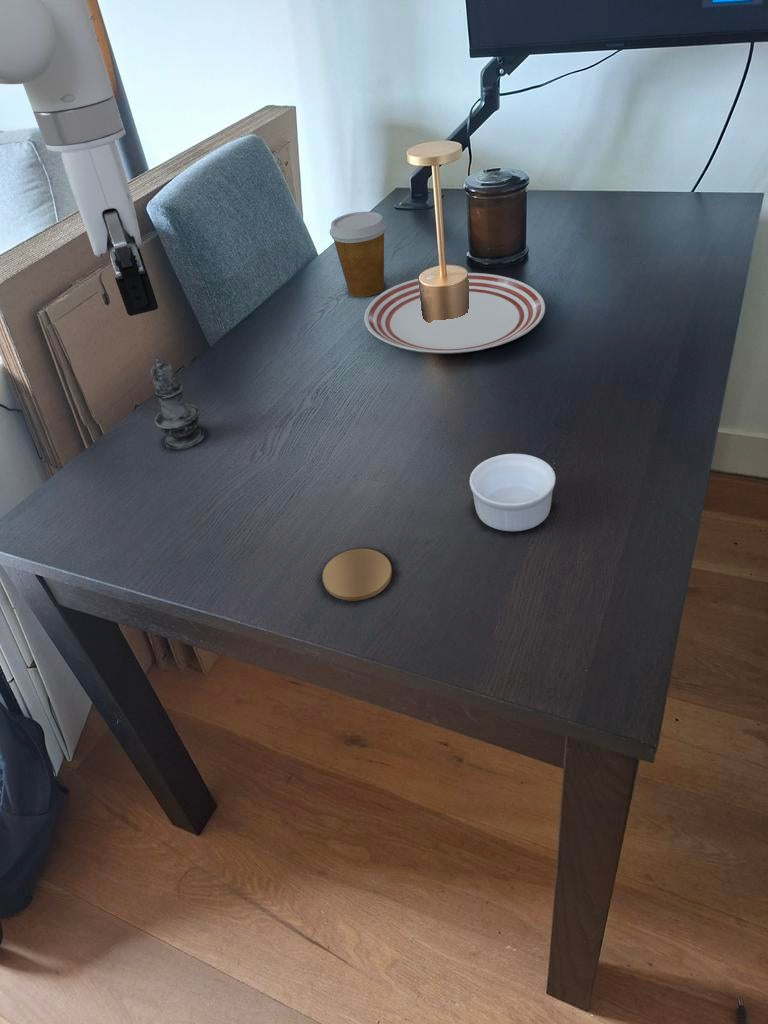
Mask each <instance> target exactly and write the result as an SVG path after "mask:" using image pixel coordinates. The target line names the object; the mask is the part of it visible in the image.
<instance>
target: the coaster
mask: <svg viewBox="0 0 768 1024" xmlns="http://www.w3.org/2000/svg"><path fill="white" fill-rule="evenodd" d="M392 575H393V569H392V565H391V562H390V560H389V559H388V557H387V556H386V555H384V554H383V553H381V552H380V551H377V550H374V549H371V548H354V549H349V550H346V551H343V552H341V553H339V554H337V555H336V556H334V557H332V558H331V559H330V560H329V561H328V562H327V564H326V565H325V566H324V568H323V571H322V583H323V586H324V588H325V590H326V591H327V592H328V593H329V594H330V595H331V596H333V597H334V598H336V599H339V600H343V601H348V602H357V601H363V600H368V599H370V598H372V597H375V596H377V595H378V594H380V593H381V592H382V591H384V590H385V589H386V588H387V586H388V585H389V584H390V582H391V580H392Z"/></svg>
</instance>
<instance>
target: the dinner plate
mask: <svg viewBox="0 0 768 1024" xmlns="http://www.w3.org/2000/svg"><path fill="white" fill-rule="evenodd" d="M467 273H468V280H469V309H468V313H466V314H465V315H463V316H461V317H458V318H454V319H446V320H433V321H432V322H431V323H428V322H426V321H425V320H424V319H423V316H422V311H421V301H420V291H419V284H418V278H415V279H411V280H408V281H405V282H402V283H399V284H396V285H394V286H392V287H390V288H389V289H386V290H385V291H383V292H380V293H379V295H377V296H376V297H375V298H373V299H372V301H371V302H370V303H369V304H368V306H367V308H366V309H365V312H364V317H363V318H364V325H365V327H366V328H367V330H368V331H369V332H370V334H371V335H373V336H374V337H375V338H377V339H379V340H380V341H382V342H384V343H386V344H388V345H390V346H392V347H395V348H398V349H402V350H406V351H411V352H415V353H422V354H432V355H454V354H464V353H465V354H466V353H471V352H477V351H483V350H486V349H489V348H495V347H499V346H501V345H504V344H508V343H511V342H512V341H514V340H517V339H519V338H521V337H522V336H525V335H527V334H528V333H529V332H531V331H532V330H533V329H535V328H536V327H537V326H538V325H539V324H540V322H541V321H542V320H543V317H545V316H544V315H545V313H546V304H545V300H544V298H543V297H542V295H541V294H540V293H539V292H538V290H536V289H534V288H533V287H532V286H530V285H528V284H527V283H524V282H522V281H520V280H517V279H515V278H511V277H507V276H503V275H498V274H491V273H481V272H467Z"/></svg>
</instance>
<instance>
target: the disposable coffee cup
mask: <svg viewBox="0 0 768 1024" xmlns="http://www.w3.org/2000/svg"><path fill="white" fill-rule="evenodd" d="M386 228H387V223H386V221H385V220H384V217H383V215H382V214H381V213H379V212H375V211H356V212H355V211H354V212H350V213H346V214H343V215H340V216H338V217H336V218H335V219H333V220H332V221H331V223H330V229H329V235H330V237H331V238H332V240H333V242H334V246H335V249H336V253H337V256H338V259H339V263H340V267H341V271H342V273H343V274H342V275H343V276H344V281H345V283H346V288H347V291H348V294H349V295H350V296H353V297H357V298H365V297H371V296H375V295H377V294H380V293H382V291H384V289H385V232H386Z"/></svg>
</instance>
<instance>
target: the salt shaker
mask: <svg viewBox="0 0 768 1024" xmlns="http://www.w3.org/2000/svg"><path fill="white" fill-rule="evenodd" d="M155 362H156V364H154V365H153V366H152V367H151V368H150V377H151V379H152V383H153V386H154V387H155V391H154V392H153V393H154V396H155V397H156V398H158V401H159V403H160V406H161V411H160V412H159V413H157V415H156V416H155V419H154V423H155V424H154V425H156V426H157V428H159V430H160V431H161V432H162V433H163V434H164V435H166V437H165V440H164V444H165V446H166V447H167V448H168V449H170V450H174V451H175V450H176V451H177V450H178V451H179V450H186V449H189V448H192V447H195V446H196V445H198V444H199V443H200V442H201V441H203V440H204V437H205V432H204V430H203V429H202V428H201V427H198V426H199V423H200V421H199V420H200V417H199V416H200V413H201V412H200V409H199V408H198V406H197V405H194V404H193V403H192V404H191V403H187V402H186V400H185V399H184V398H185V397H184V395H183V392H182V390H183V385H182V384H181V383H179V382H178V379H177V376H176V372H175V370H174V367H173V366H172V364H170V363H169V362H163V361H162V359H160V358H159V357H156V360H155Z"/></svg>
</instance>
